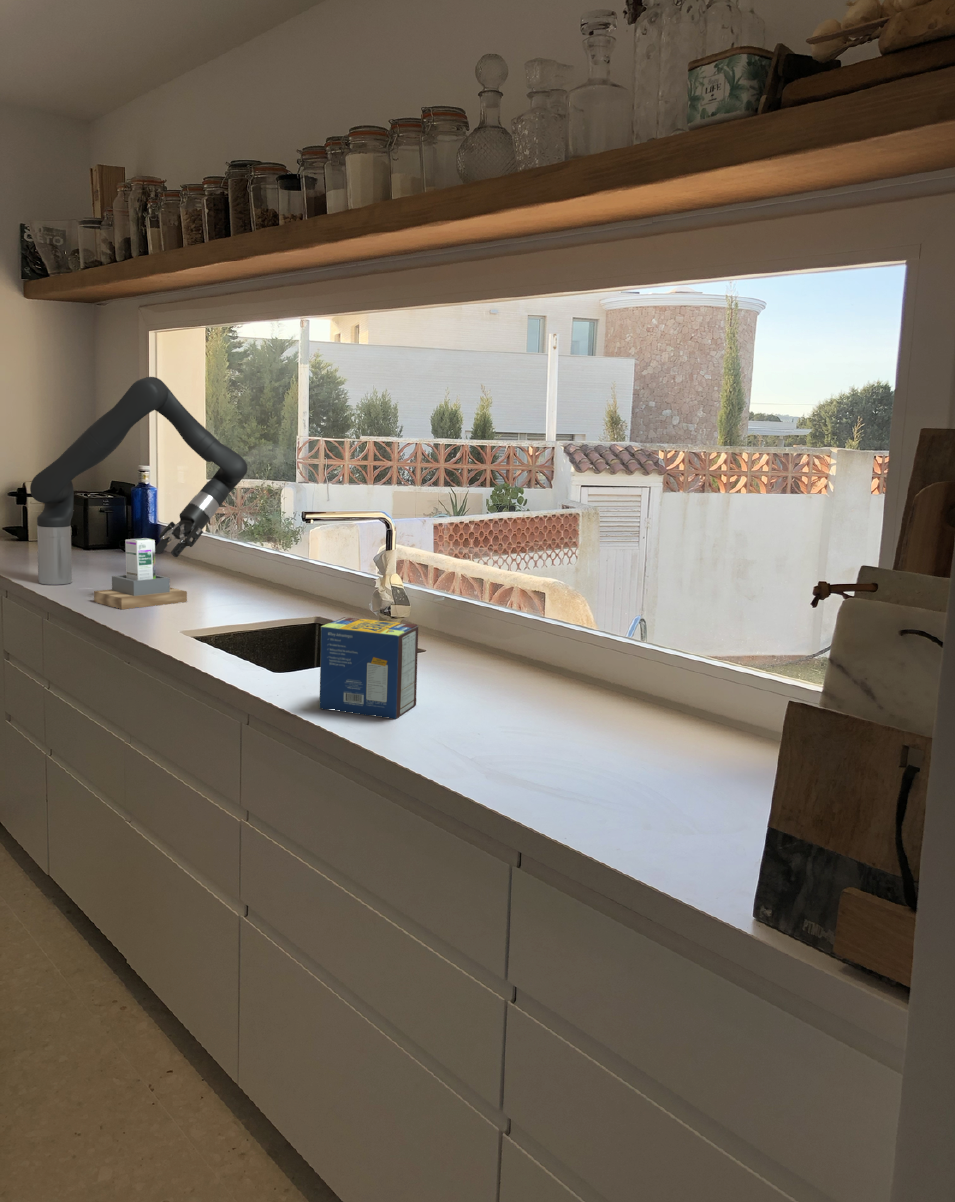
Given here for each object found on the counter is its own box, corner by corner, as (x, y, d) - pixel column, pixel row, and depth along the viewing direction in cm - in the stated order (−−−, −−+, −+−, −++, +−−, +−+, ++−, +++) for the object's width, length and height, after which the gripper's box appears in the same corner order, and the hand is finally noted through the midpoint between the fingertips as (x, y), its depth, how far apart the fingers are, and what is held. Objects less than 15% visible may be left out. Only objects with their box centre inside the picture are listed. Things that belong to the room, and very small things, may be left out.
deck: (94, 601, 275) (94, 591, 274) (158, 594, 290) (158, 584, 289) (121, 609, 266) (121, 598, 265) (186, 601, 281) (186, 591, 281)
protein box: (341, 695, 192) (343, 616, 190) (417, 705, 188) (420, 624, 185) (317, 709, 182) (319, 625, 180) (396, 720, 178) (399, 634, 175)
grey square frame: (112, 590, 277) (111, 576, 276) (147, 586, 285) (147, 572, 284) (133, 595, 270) (133, 581, 269) (169, 592, 278) (169, 577, 277)
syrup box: (138, 593, 274) (137, 540, 271) (125, 590, 277) (125, 538, 275) (156, 591, 278) (155, 539, 276) (143, 588, 282) (143, 537, 279)
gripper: (177, 500, 290) (142, 542, 283) (206, 504, 281) (170, 547, 274) (193, 518, 295) (159, 559, 288) (222, 522, 286) (187, 565, 279)
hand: (164, 553), depth 281 cm, fingers open, 8 cm apart
